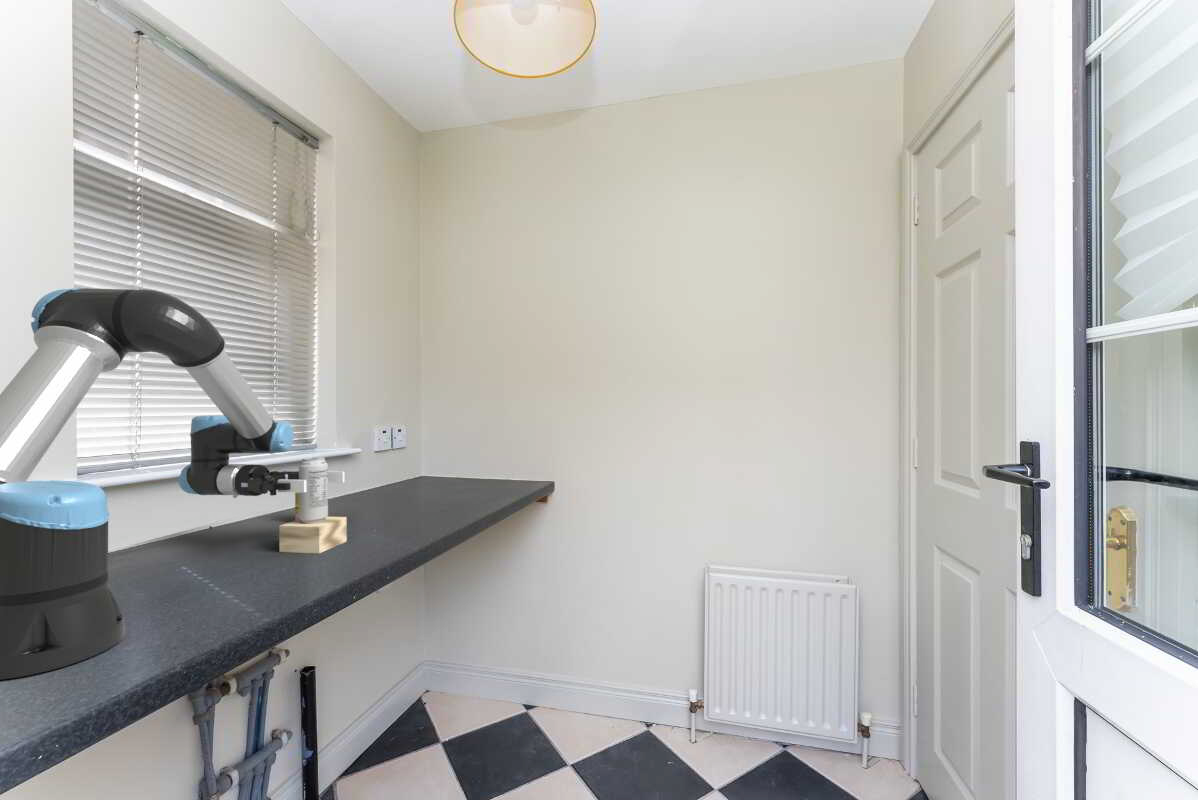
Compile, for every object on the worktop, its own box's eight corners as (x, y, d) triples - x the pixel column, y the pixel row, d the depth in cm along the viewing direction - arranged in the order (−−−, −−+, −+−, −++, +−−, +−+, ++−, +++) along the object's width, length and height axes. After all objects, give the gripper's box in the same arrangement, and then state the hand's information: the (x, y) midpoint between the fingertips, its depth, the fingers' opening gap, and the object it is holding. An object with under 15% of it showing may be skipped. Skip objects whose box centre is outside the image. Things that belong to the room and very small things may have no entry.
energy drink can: (319, 517, 128) (319, 456, 128) (333, 520, 124) (332, 457, 124) (294, 522, 123) (293, 458, 123) (307, 525, 119) (306, 460, 119)
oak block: (319, 553, 118) (319, 527, 118) (279, 551, 119) (279, 525, 119) (346, 541, 128) (346, 517, 128) (309, 540, 129) (309, 516, 129)
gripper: (283, 486, 138) (357, 488, 135) (199, 506, 114) (286, 508, 111) (283, 458, 138) (357, 459, 135) (198, 471, 114) (286, 473, 111)
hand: (325, 481), depth 123 cm, fingers open, 13 cm apart
